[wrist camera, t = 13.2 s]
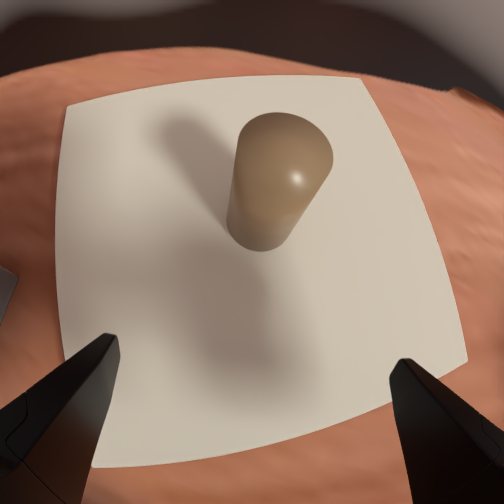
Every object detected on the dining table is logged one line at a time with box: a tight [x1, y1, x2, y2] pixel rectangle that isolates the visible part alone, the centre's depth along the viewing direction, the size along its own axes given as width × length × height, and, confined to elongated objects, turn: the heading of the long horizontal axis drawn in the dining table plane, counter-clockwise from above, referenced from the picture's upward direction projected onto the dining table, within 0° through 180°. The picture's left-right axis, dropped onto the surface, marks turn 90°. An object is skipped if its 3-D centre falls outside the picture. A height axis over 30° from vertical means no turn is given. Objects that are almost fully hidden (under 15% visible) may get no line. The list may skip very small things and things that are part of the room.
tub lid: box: [55, 75, 468, 468], centre depth 14 cm, size 21×21×8 cm
